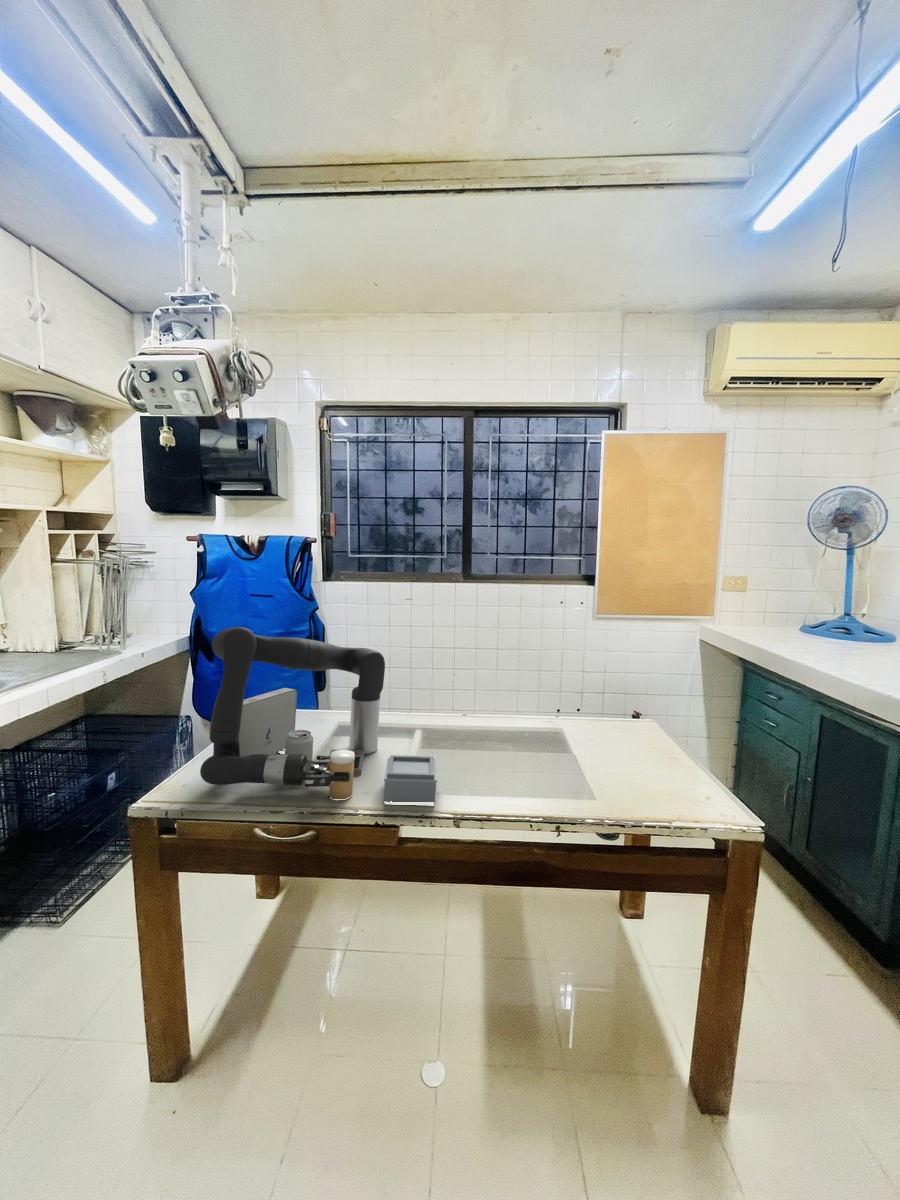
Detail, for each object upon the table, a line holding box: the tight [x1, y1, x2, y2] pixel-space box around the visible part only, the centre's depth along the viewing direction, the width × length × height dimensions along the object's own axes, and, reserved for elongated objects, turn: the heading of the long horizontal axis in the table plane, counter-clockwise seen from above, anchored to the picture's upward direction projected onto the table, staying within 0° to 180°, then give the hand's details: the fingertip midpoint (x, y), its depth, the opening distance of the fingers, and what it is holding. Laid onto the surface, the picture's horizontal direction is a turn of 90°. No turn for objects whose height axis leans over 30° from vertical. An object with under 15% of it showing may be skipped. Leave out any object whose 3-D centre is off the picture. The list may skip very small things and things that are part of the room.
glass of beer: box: [328, 749, 355, 799], centre depth 121 cm, size 6×6×11 cm
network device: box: [239, 687, 298, 757], centre depth 138 cm, size 26×9×20 cm, turn 161°
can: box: [284, 729, 314, 761], centre depth 132 cm, size 8×8×12 cm
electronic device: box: [328, 749, 365, 776], centre depth 141 cm, size 10×2×15 cm
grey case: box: [383, 754, 438, 802], centre depth 124 cm, size 13×13×8 cm
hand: (351, 771), depth 121 cm, fingers closed on glass of beer, 6 cm apart
